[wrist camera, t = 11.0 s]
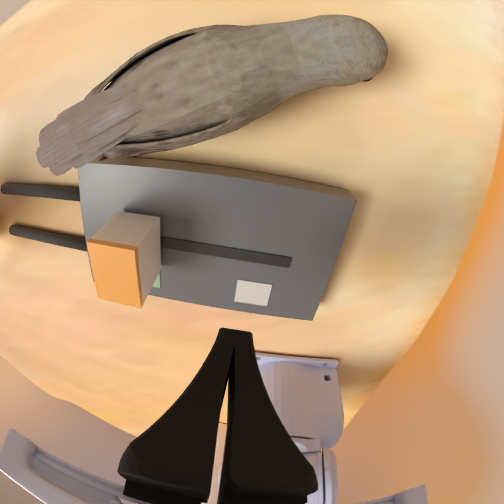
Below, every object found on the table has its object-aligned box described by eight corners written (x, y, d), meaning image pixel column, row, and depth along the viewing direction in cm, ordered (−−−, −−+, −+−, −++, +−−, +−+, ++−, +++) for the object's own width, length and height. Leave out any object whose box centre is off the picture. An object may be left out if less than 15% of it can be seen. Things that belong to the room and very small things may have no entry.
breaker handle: (160, 217, 16) (134, 250, 13) (161, 269, 18) (141, 308, 15) (118, 211, 16) (86, 241, 13) (122, 262, 18) (98, 297, 15)
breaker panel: (347, 190, 17) (356, 201, 16) (309, 303, 23) (312, 321, 21) (93, 155, 17) (76, 163, 15) (103, 268, 22) (93, 282, 20)
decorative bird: (375, 96, 14) (447, 103, 7) (128, 167, 17) (58, 215, 11) (350, 15, 11) (405, -28, 4) (100, 96, 15) (17, 112, 8)
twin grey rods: (94, 187, 18) (87, 192, 17) (100, 249, 21) (95, 255, 20) (5, 181, 17) (-2, 185, 17) (14, 231, 20) (8, 236, 19)
